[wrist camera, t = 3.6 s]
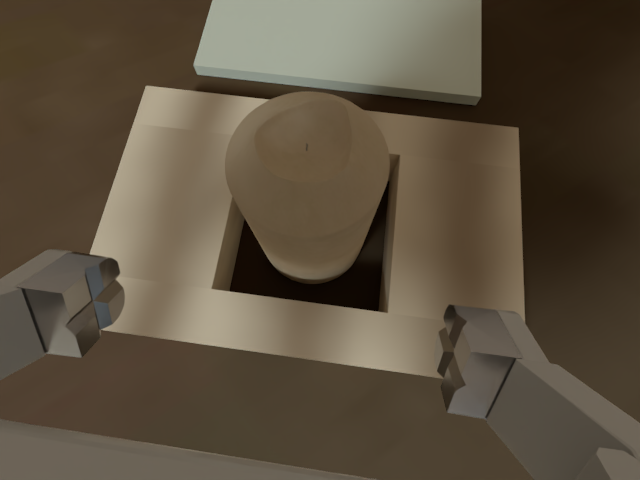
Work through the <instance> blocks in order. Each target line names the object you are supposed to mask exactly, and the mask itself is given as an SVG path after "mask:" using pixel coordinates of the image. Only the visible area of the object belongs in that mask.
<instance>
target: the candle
mask: <svg viewBox="0 0 640 480" xmlns="http://www.w3.org/2000/svg"><path fill="white" fill-rule="evenodd" d="M389 170H390V157H389V151H388V147H387V144H386V141H385V138H384V136H383V134H382V132H381V130H380V129H379V127H378V126H377V124H376V123H375V122H374V120H373V119H372V118H371V117H370V116H369V115H368V114H367V113H366V112H365V111H363V110H362V109H361V108H359V107H358V106H356V105H355V104H353V103H352V102H350V101H348V100H346V99H344V98H341V97H338V96H335V95H332V94H327V93H322V92H305V91H304V92H294V93H289V94H285V95H282V96H278V97H275V98H273V99H271V100H269V101H267V102H265V103H263V104H261V105H260V106H258V107H257V108H255V109H254V110H253V111H252V112H250V113H249V114H248V115H247V116H246V117H245V118H244V119H243V120H242V122H241V123H240V124H239V125H238V127H237V128H236V130H235V132H234V133H233V135H232V137H231V139H230V142H229V144H228V148H227V152H226V158H225V174H226V180H227V184H228V187H229V190H230V193H231V194H232V196H233V198H234V200H235V202H236V204H237V206H238V207H239V209H240V211H241V213H242V214H243V216H244V218H245V220H246V221H247V223H248V225H249V226H250V228H251V230H252V232H253V233H254V235H255V237H256V239H257V240H258V242H259V244H260V246H261V247H262V249H263V251H264V252H265V254H266V256H267V258H268V259H269V261H270V262H271V263H272V265H273V266H274V267H275V268H276V269H277V270H278V271H279V272H280V273H281V274H282V275H284V276H286V277H287V278H289V279H291V280H294V281H296V282H300V283H305V284H320V283H325V282H328V281H331V280H334V279H336V278H337V277H339V276H341V275H342V274H344V273H345V272H346V271H347V270H348V269H349V268H350V267H351V266H352V265H353V263H354V262H355V260H356V258H357V257H358V255H359V253H360V250H361V248H362V245H363V243H364V240H365V238H366V235H367V233H368V230H369V228H370V225H371V223H372V220H373V218H374V215H375V213H376V210H377V208H378V205H379V203H380V200H381V198H382V195H383V193H384V190H385V188H386V185H387V181H388V177H389Z"/></svg>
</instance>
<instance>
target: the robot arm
mask: <svg viewBox="0 0 640 480" xmlns="http://www.w3.org/2000/svg"><path fill="white" fill-rule="evenodd" d="M119 275H120V269H119V265H118V262H117V261H116V260H115V259H113V258H111V257H104V256H98V255H92V254H85V253H79V252H72V251H65V250H58V249H52V250H46V251H45V252H43V253H41V254H40V255H38V256H37V257H35V258H33V259H32V260H30V261H28V262H27V263H25V264H24V265H22V266H20V267H19V268H17V269H16V270H14V271H12V272H11V273H9V274H7V275H6V276H4V277H3V278H1V279H0V380H1V379H3V378H5V377H7V376H9V375H10V374H12V373H14V372H16V371H18V370H19V369H21V368H23V367H25V366H27V365H29V364H30V363H32V362H34V361H36V360H38V359H39V358H41V357H43V356H45V353H46V354H55V355H63V356H71V357H80V358H82V357H83V356H84V355H85V354H86V353H87V352H88V350H89V349H90V348H91V347H92V346H93V345H94V344H95V343H96V342H97V341H98V340H99V339H100V337H101V331H100V330H101V329H103V328H106V327H108V326H110V325H112V324H113V323H114V322H115V321H116V320H117V319H118V317H119V316H120V314H121V312H122V309H123V307H124V302H125V293H124V288H123V287H122V286H121V285H120V283H119V282H118V281H117V280H116V279H117V277H118V276H119ZM443 319H444V322H445V326H446V327H445V328H443V329H442V330H440V331H439V332H438V335H437V338H436V342H435V350H434V358H435V365H436V370H437V372H438V373H439V374H440V375H441V376H442V377H443V378H444V379H443V382H442V384H441V391H442V395H443V399H444V403H445V407H446V411H447V413H453V414H459V415H464V416H470V417H476V418H481V419H487V420H486V422H487V423H488V424H489V426H490V427H491V428H492V429H493V430H494V432H495V433H496V434H497V435H498V436H499V438H500V439H501V440H502V441H503V443H504V444H505V445H506V446H507V447H508V449H509V450H510V451H511V452H512V453H513V455H514V456H515V457H516V458H517V459H518V461H519V462H520V463H521V464H522V465H523V467H524V468H525V469H526V470H527V471H528V473H529V474H530V475H531V476H532V478H533V479H534V480H640V423H639V422H637V421H636V420H634V419H633V418H632V417H630V416H629V415H627V414H626V413H625V412H623V411H622V410H620V409H619V408H618V407H616V406H615V405H613V404H612V403H611V402H609V401H608V400H606V399H605V398H604V397H602V396H601V395H599V394H598V393H597V392H595V391H594V390H592V389H591V388H590V387H588V386H587V385H585V384H584V383H582V382H581V381H580V380H578V379H577V378H575V377H574V376H573V375H571V374H570V373H568V372H567V371H566V370H564V369H563V368H561V367H560V366H559V365H557V364H550V363H549V361H548V360H547V358H546V356H545V355H544V353H543V352H542V350H541V348H540V347H539V345H538V344H537V342H536V340H535V339H534V337H533V335H532V334H531V332H530V331H529V329H528V327H527V326H526V324H525V323H524V321H523V319H522V318H521V316H520V315H519V314H518V313H516V312H515V311H507V310H497V309H484V308H476V307H468V306H460V305H452V304H449V305H448V307H447V308H446V310H445V313H444V316H443ZM0 480H378V479H371V478H365V477H359V476H352V475H346V474H340V473H334V472H327V471H321V470H315V469H308V468H302V467H296V466H289V465H283V464H277V463H270V462H264V461H258V460H251V459H245V458H239V457H233V456H226V455H220V454H214V453H208V452H201V451H195V450H189V449H183V448H177V447H170V446H164V445H158V444H152V443H145V442H139V441H133V440H127V439H120V438H114V437H108V436H102V435H95V434H89V433H83V432H77V431H70V430H64V429H58V428H51V427H45V426H39V425H33V424H26V423H20V422H14V421H7V420H1V419H0Z"/></svg>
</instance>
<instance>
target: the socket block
mask: <svg viewBox="0 0 640 480" xmlns="http://www.w3.org/2000/svg"><path fill="white" fill-rule="evenodd" d="M267 101H269V100H268V99H259V98H250V97H241V96H233V95H224V94H215V93H206V92H197V91H188V90H179V89H171V88H162V87H153V86H146V87H145V90H144V93H143V96H142V99H141V102H140V105H139V108H138V111H137V114H136V117H135V120H134V123H133V126H132V129H131V132H130V135H129V138H128V141H127V144H126V147H125V150H124V153H123V156H122V159H121V162H120V165H119V168H118V171H117V174H116V177H115V180H114V183H113V186H112V189H111V192H110V195H109V198H108V201H107V204H106V207H105V210H104V213H103V216H102V219H101V222H100V225H99V228H98V231H97V234H96V237H95V240H94V242H93V245H92V248H91V251H90V254H92V255H98V256H104V257H111V258H113V259H115V260H116V261H117V262H118V265H119V269H120V275H119V276H118V277H117V279H116V280H117V281H118V282H119V283H120V285H121V286H122V287H123V288H124V293H125V302H124V307H123V309H122V312H121V314H120V316H119V317H118V319H117V320H116V321H115V322H114V323H113V324H112V325H110V326H108V327H106V328H103V329H101V330H106V331H113V332H120V333H127V334H134V335H141V336H148V337H155V338H162V339H170V340H177V341H184V342H191V343H198V344H205V345H212V346H219V347H226V348H233V349H240V350H247V351H254V352H261V353H268V354H275V355H282V356H289V357H296V358H303V359H310V360H317V361H324V362H331V363H338V364H345V365H352V366H359V367H366V368H373V369H380V370H387V371H394V372H401V373H408V374H415V375H422V376H429V377H436V378H443V377H442V376H441V375H440V374H439V373H438V372H437V370H436V365H435V358H434V350H435V342H436V338H437V335H438V332H439V331H440V330H442V329H443V328H445V327H446V326H445V322H444V319H443V316H444V313H445V310H446V308H447V307H448V305H449V304H452V305H460V306H468V307H476V308H484V309H497V310H507V311H515V312H516V313H518V314H519V315H520V316H521V318H522V319H523V321H524V323H525V307H524V276H523V246H522V216H521V186H520V155H519V128H516V127H508V126H499V125H490V124H481V123H472V122H463V121H454V120H445V119H437V118H428V117H419V116H410V115H401V114H392V113H383V112H374V111H366V110H363V111H365V112H366V113H367V114H368V115H369V116H370V117H371V118H372V119H373V120H374V122H375V123H376V124H377V126H378V127H379V129H380V130H381V132H382V134H383V136H384V138H385V141H386V144H387V147H388V151H389V157H390V170H389V177H388V181H389V193H388V204H387V216H386V228H385V239H384V251H383V263H382V274H381V286H380V298H379V309H378V312H377V311H370V310H362V309H355V308H348V307H340V306H333V305H326V304H318V303H311V302H303V301H296V300H289V299H281V298H274V297H267V296H259V295H252V294H245V293H237V292H230V286H231V281H232V276H233V272H234V267H235V262H236V257H237V253H238V248H239V243H240V238H241V234H242V229H243V224H244V219H245V218H244V216H243V214H242V213H241V211H240V209H239V207H238V206H237V204H236V202H235V200H234V198H233V196H232V194H231V193H230V190H229V187H228V184H227V180H226V174H225V158H226V152H227V148H228V144H229V142H230V139H231V137H232V135H233V133H234V132H235V130H236V128H237V127H238V125H239V124H240V123H241V122H242V120H243V119H244V118H245V117H246V116H247V115H248V114H249V113H250V112H252V111H253V110H254V109H255V108H257V107H258V106H260V105H261V104H263V103H265V102H267ZM443 379H444V378H443Z"/></svg>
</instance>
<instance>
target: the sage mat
mask: <svg viewBox="0 0 640 480" xmlns="http://www.w3.org/2000/svg"><path fill="white" fill-rule="evenodd" d="M194 68H195V70H196V72H197V74H198V75H206V76H215V77H224V78H233V79H242V80H251V81H260V82H269V83H278V84H287V85H296V86H305V87H314V88H323V89H332V90H341V91H350V92H359V93H368V94H377V95H386V96H395V97H404V98H413V99H422V100H431V101H440V102H449V103H458V104H467V105H476V104H477V103H478V101H479V100H480V98H481V0H213V1H212V4H211V7H210V11H209V14H208V18H207V21H206V24H205V28H204V31H203V35H202V38H201V41H200V45H199V48H198V52H197V55H196V58H195V62H194Z"/></svg>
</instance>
